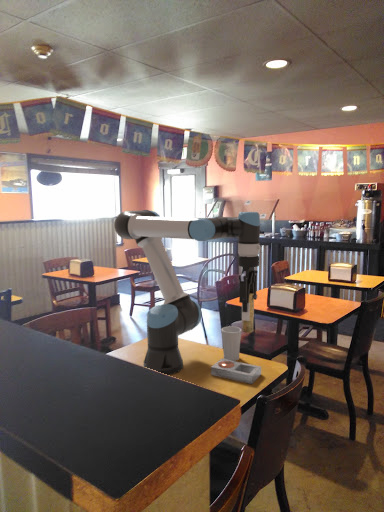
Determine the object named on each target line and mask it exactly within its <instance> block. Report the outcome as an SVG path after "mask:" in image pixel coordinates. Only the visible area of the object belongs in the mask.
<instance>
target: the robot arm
mask: <svg viewBox="0 0 384 512" xmlns="http://www.w3.org/2000/svg"><path fill="white" fill-rule="evenodd" d="M260 217H261V216H260V213H259V212H258V211H239V213H238V216H237V217H232V216H229V217H228V216H212V217H174V216H173V217H172V216H171V217H168V216H160V214H159V213H158V212H156V211H153V210H148V209H142V210H124V211H122V212H121V213H119V214H118V215H117V216H116V218H115V220H114V223H113V225H114V226H113V227H114V231H115V232H116V234H117V235H118V237H120V238H122V239H124V240H134V242H135V243H136V245H137V246H138V247H139V248H141V249H142V250H143V252H144V256H145V258H146V260H147V262H148V264H149V267H150V269H151V272H152V273H153V276H154V279H155V281H156V284H157V285H158V287H159V290H160V294H161V295H162V297H163V300H164V302H163V304H161V305H159V304H158V305H155V306H153V307H150V308H149V310H148V311H147V314H146V315H147V316H146V334H147V337H146V338H147V350H146V353H145V356H144V360H143V368H144V367H147V368H150V369H153V370H156V371H158V372H161V373H164V374H167V375H166V376H171V375H174V374H177V373H178V372H181V371H183V368H184V361H183V357H182V354H181V352H180V348H179V336H180V335H183V334H185V333H187V332H190V331H192V330H193V329H195V328H196V327H197V326H198V325H200V322H201V321H202V318H203V317H202V316H203V315H202V314H203V313H202V308H201V306H200V304H199V303H198V302H197V301H195V300H194V299H192V298H191V296H190V294H189V293H186V292H185V291H184V289H183V287H182V285H181V283H180V280H179V277H178V275H177V273H176V271H175V269H174V267H173V265H172V264H173V263H172V262H171V260H170V257H169V255H168V252H167V251H166V248H165V246H164V243H163V241H162V240H163V238H164V239H165V238H166V239H168V238H169V239H182V240H183V239H184V240H195V241H197V242H207V241H209V240H210V241H211V240H216V239H217V240H218V239H223V238H224V239H225V238H227V239H228V238H229V239H238V241H237V242H238V243H237V253H238V256H237V265H238V267H240V268H241V275H240V274H239V275H238V281H239V285H238V286H239V287H238V288H239V289H238V290H239V293H238V294H239V296H238V297H239V301H238V302H239V303H240V304H241V321H242V320H245V321H250V303H249V293H254V294H256V295H257V285H258V283H257V282H258V280H257V279H258V270H256V269H255V268H257V267H259V266H260V256H259V255H260V250H261V249H262V248H261V246H260V244H261V243H260V234H261V233H260V232H261V231H260V230H261V218H260ZM257 298H258V297H257ZM257 298H254V301H256V300H257ZM254 317H255V316H253V318H254Z"/></svg>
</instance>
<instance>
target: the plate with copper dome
mask: <svg viewBox="0 0 384 512" xmlns="http://www.w3.org/2000/svg"><path fill="white" fill-rule="evenodd" d="M210 375H212V376H215V377H220V378H224V379H228V380H232V381H236V382H241V383H246V384H250V385H253V384H254V383H255V381H257V380H258V378H259V377H261V375H262V366H260V365H256V364H250V363H244V362H239V361H231V360H227V359H224V358H220V359H219V360H218V361H217V362H215V363H214V364H213V365H211V366H210Z"/></svg>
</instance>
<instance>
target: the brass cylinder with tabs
mask: <svg viewBox="0 0 384 512" xmlns="http://www.w3.org/2000/svg"><path fill="white" fill-rule="evenodd" d="M254 298H258V294H257V293H256V294H254V293H249V303H250V321H245V320H242V319H241V321H242V324H241V332H244V333H246V334H249V333H253V332H254V317H255V316H254V315H255V314H254V313H255V300H254ZM253 316H254V317H253Z"/></svg>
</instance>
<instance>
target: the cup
mask: <svg viewBox="0 0 384 512" xmlns="http://www.w3.org/2000/svg"><path fill="white" fill-rule="evenodd" d="M221 337H222V338H221V339H222V351H223V359H227V360H231V361H236V360H237V361H238V360H239V359H240V349H241V347H240V346H241V337H242V328H240V327H238V326H231V325H230V326H224V327H222V328H221ZM237 361H236V362H237Z"/></svg>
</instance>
